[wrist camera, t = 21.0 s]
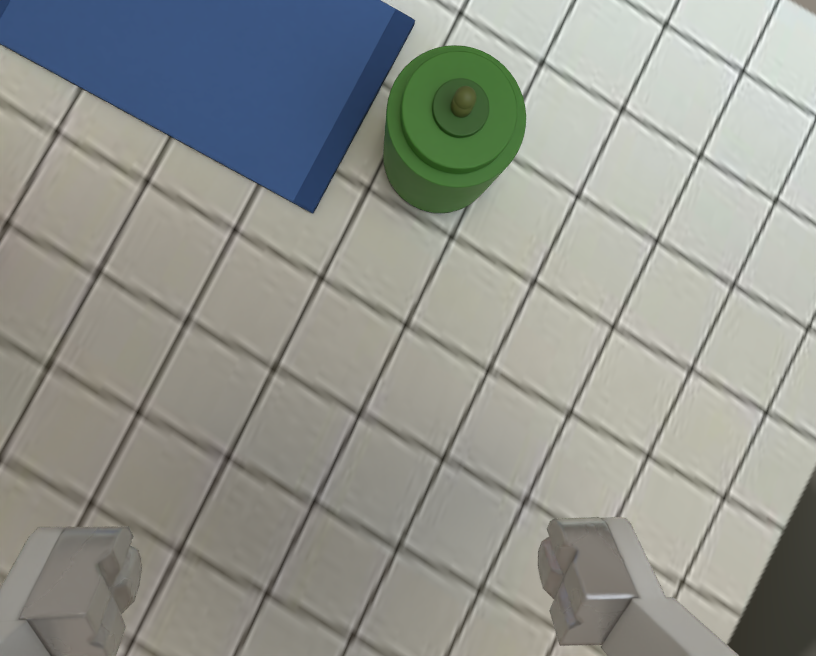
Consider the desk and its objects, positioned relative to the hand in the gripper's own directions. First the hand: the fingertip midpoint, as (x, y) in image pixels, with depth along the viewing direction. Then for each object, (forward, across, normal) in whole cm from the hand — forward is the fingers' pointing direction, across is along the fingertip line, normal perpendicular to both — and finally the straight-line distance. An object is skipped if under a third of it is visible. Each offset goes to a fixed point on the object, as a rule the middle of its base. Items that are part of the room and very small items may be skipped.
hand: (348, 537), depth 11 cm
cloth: (+28, +8, -5) cm, 29 cm away
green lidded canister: (+23, -5, 0) cm, 24 cm away
